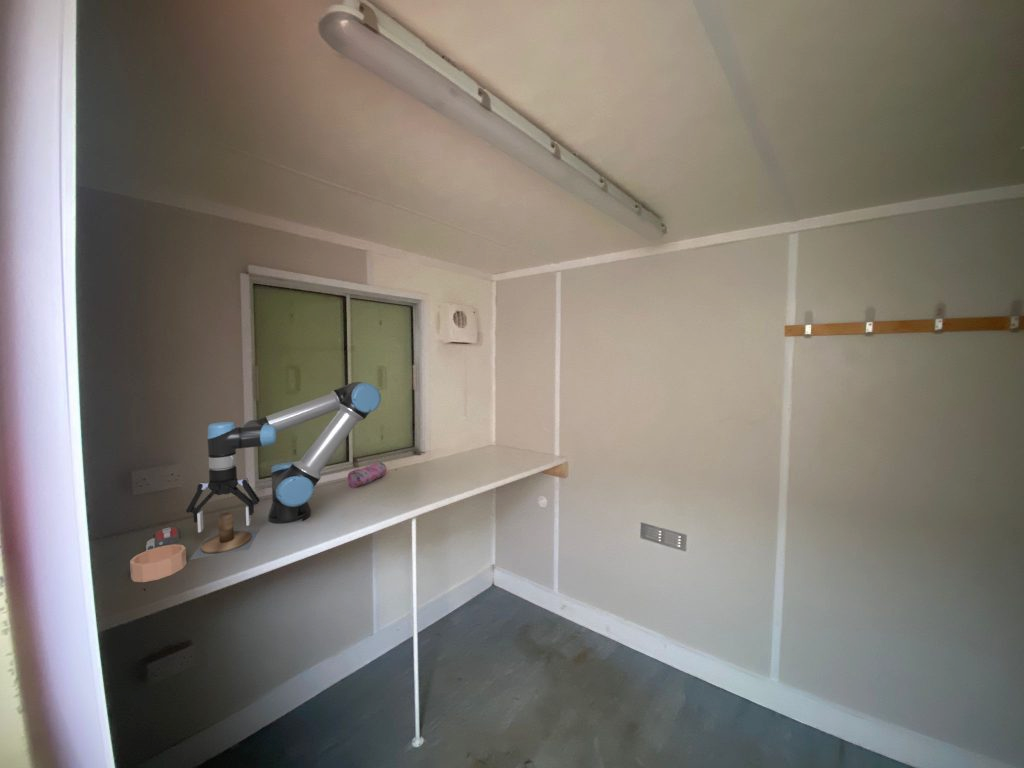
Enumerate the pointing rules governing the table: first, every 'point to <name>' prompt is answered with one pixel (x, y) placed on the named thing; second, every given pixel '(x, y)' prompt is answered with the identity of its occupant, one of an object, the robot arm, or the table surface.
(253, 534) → the slate mat
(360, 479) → the pencil case
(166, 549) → the terracotta bowl
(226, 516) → the walnut lid
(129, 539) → the table surface
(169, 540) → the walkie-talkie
